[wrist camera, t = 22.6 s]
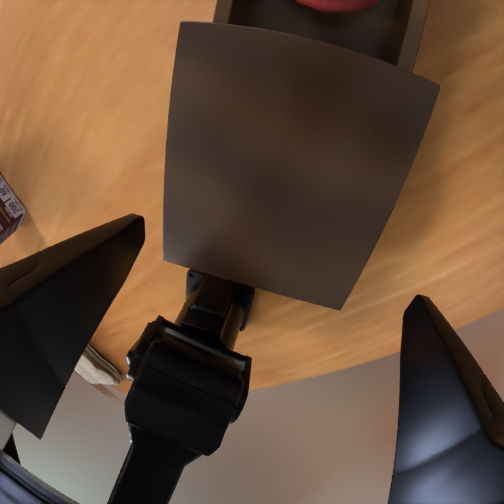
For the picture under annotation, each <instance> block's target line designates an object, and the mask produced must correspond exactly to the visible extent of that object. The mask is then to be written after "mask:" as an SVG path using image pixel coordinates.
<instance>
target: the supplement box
mask: <svg viewBox="0 0 504 504" xmlns="http://www.w3.org/2000/svg"><path fill="white" fill-rule="evenodd" d="M26 212H27V210H26V209H25V208H24V207H23V206H22V204H21V203H20V202H19V200H18V199H17V198H16V196H15V195H14V193H13V192H12V191H11V189H10V188H9V186H8V185H7V183H6V182H5V180H4V179H3V177H2V176H1V174H0V244H1V243H3V242H4V241H5V240H6V239H7V238H8V237H9V236H10V235H11V234H13V233H14V232H15V231H16V230H17V229H18V228H19V226H20V224H21V222H22V220H23V218H24V216H25V214H26Z"/></svg>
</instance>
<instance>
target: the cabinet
mask: <svg viewBox="0 0 504 504" xmlns="http://www.w3.org/2000/svg"><path fill="white" fill-rule="evenodd" d="M439 89H440V86H439V85H437V84H435V83H433V82H431V81H429V80H427V79H425V78H423V77H421V76H419V75H416V74H414V73H412V72H409V71H407V70H405V69H402V68H400V67H398V66H395V65H393V64H390V63H388V62H385V61H382V60H380V59H377V58H374V57H371V56H369V55H366V54H363V53H360V52H357V51H354V50H351V49H347V48H344V47H341V46H337V45H334V44H330V43H327V42H323V41H319V40H315V39H311V38H307V37H303V36H299V35H294V34H289V33H284V32H279V31H274V30H268V29H262V28H256V27H249V26H242V25H233V24H224V23H213V22H198V21H181V22H180V28H179V34H178V41H177V47H176V54H175V62H174V69H173V77H172V86H171V95H170V105H169V115H168V127H167V140H166V155H165V174H164V202H163V260H164V261H167V262H171V263H174V264H177V265H180V266H184V267H187V268H190V269H194V270H197V271H200V272H203V273H207V274H210V275H214V276H217V277H220V278H224V279H227V280H231V281H234V282H237V283H241V284H244V285H248V286H251V287H255V288H258V289H262V290H266V291H269V292H273V293H276V294H280V295H284V296H287V297H291V298H294V299H298V300H302V301H306V302H309V303H313V304H317V305H321V306H324V307H328V308H332V309H336V310H341V309H342V307H343V305H344V303H345V302H346V300H347V298H348V296H349V295H350V293H351V291H352V289H353V287H354V286H355V284H356V282H357V280H358V278H359V276H360V274H361V273H362V271H363V269H364V267H365V265H366V263H367V261H368V259H369V257H370V255H371V254H372V252H373V250H374V248H375V246H376V244H377V242H378V240H379V238H380V236H381V233H382V231H383V229H384V227H385V225H386V223H387V221H388V219H389V217H390V215H391V212H392V210H393V208H394V206H395V204H396V202H397V199H398V197H399V195H400V193H401V190H402V188H403V186H404V183H405V181H406V179H407V176H408V174H409V171H410V169H411V167H412V164H413V162H414V159H415V157H416V154H417V152H418V149H419V146H420V144H421V141H422V139H423V136H424V133H425V131H426V128H427V125H428V122H429V119H430V117H431V114H432V111H433V108H434V105H435V102H436V99H437V96H438V93H439Z"/></svg>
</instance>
